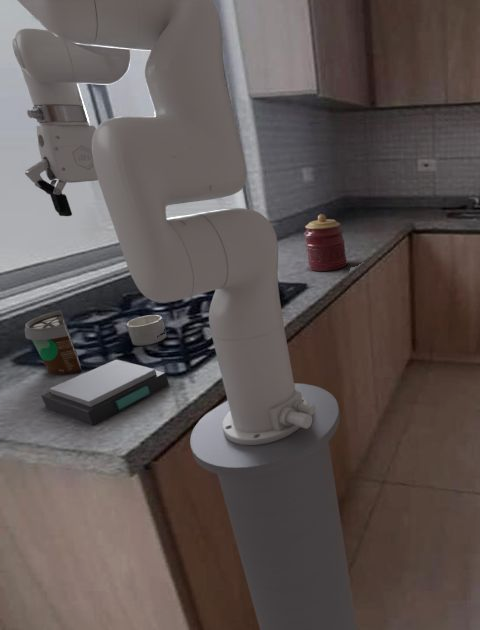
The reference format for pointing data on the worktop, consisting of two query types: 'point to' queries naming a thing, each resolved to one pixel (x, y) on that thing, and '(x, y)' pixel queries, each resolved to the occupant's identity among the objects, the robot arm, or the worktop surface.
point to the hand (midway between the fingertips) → (92, 211)
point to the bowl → (146, 330)
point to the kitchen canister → (325, 245)
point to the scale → (104, 391)
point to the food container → (53, 343)
